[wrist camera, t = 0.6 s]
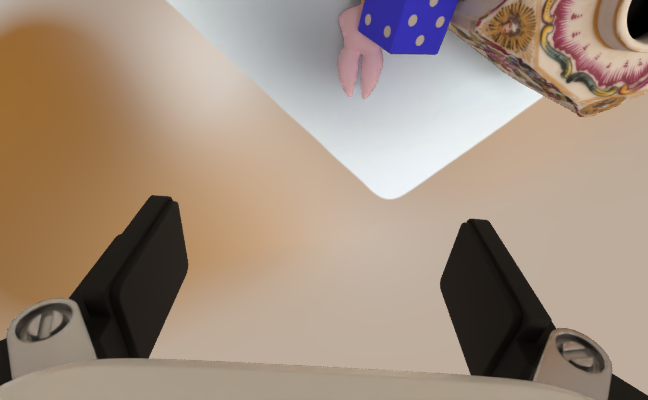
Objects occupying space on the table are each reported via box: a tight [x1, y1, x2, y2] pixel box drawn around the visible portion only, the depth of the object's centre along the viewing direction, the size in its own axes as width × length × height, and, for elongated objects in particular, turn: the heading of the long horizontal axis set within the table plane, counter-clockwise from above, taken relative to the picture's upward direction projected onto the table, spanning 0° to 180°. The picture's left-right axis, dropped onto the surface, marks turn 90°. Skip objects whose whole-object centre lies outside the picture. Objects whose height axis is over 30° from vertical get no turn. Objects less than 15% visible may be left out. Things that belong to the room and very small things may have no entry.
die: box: [358, 0, 458, 55], centre depth 28 cm, size 5×5×5 cm
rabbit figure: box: [338, 0, 383, 99], centre depth 31 cm, size 6×6×15 cm
